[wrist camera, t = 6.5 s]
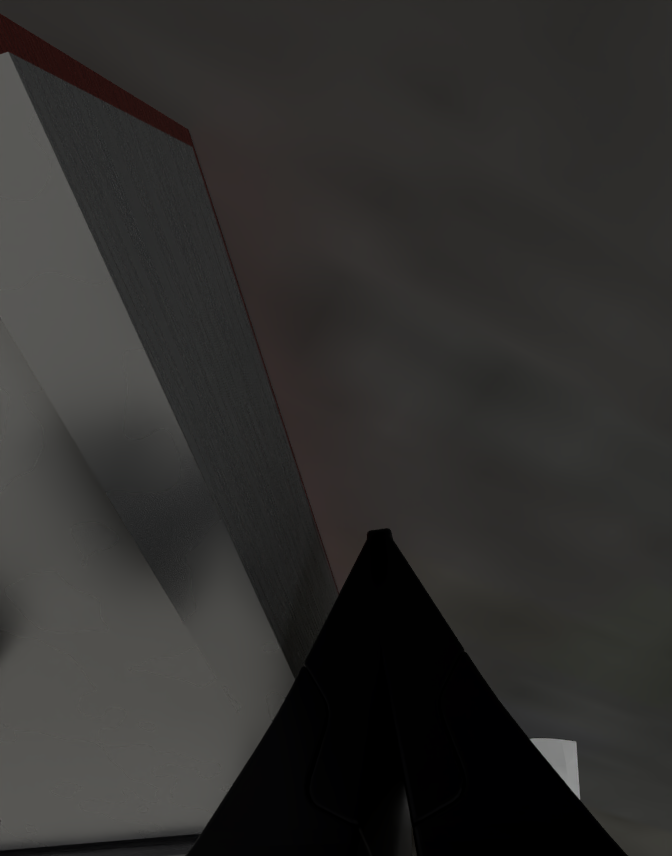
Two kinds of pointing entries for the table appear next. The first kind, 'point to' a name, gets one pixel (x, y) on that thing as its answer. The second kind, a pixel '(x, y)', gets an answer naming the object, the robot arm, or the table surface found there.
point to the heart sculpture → (561, 759)
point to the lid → (133, 486)
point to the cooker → (12, 38)
